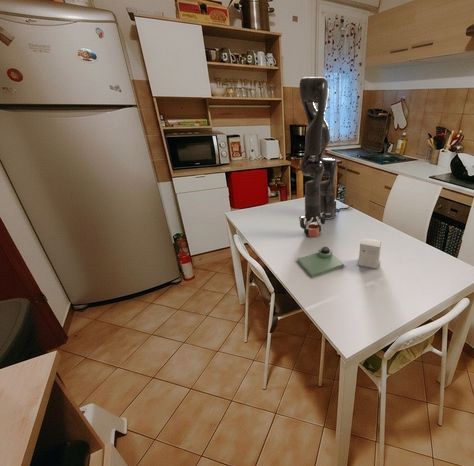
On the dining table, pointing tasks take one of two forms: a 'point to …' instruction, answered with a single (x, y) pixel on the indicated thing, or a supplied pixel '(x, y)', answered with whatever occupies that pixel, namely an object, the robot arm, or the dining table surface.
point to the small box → (369, 253)
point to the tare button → (325, 250)
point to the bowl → (313, 230)
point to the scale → (320, 263)
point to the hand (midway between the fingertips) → (312, 233)
